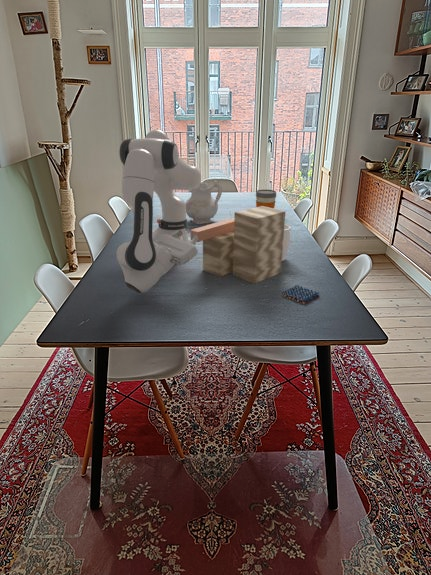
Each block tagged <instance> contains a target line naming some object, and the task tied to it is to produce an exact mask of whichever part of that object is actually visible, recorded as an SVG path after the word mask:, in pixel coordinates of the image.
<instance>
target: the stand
mask: <svg viewBox="0 0 431 575" xmlns="http://www.w3.org/2000/svg"><path fill="white" fill-rule="evenodd" d="M286 213H287V212H286V210H285V211H284V210H281V209H277V208H274V209H273V208H269V207H265V206H260V207H252V208H251V207H250V208H248V209H247V208H246V209H244V210H243V209H242V210H238V211H234V217H233V218H234V255H233V272H232V275H233V276H235V277H237V278H240V279H243V280H245V281H246V282H247V281H248V282H249V283H252V284H257V283H259V282H261V281H264V280H267V279H269V278H272V277H274V276H277V275H280V274H281V272H282V262H283V261H282V250H283V237H284V225H286V224H285V223H286V222H285V221H286Z"/></svg>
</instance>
